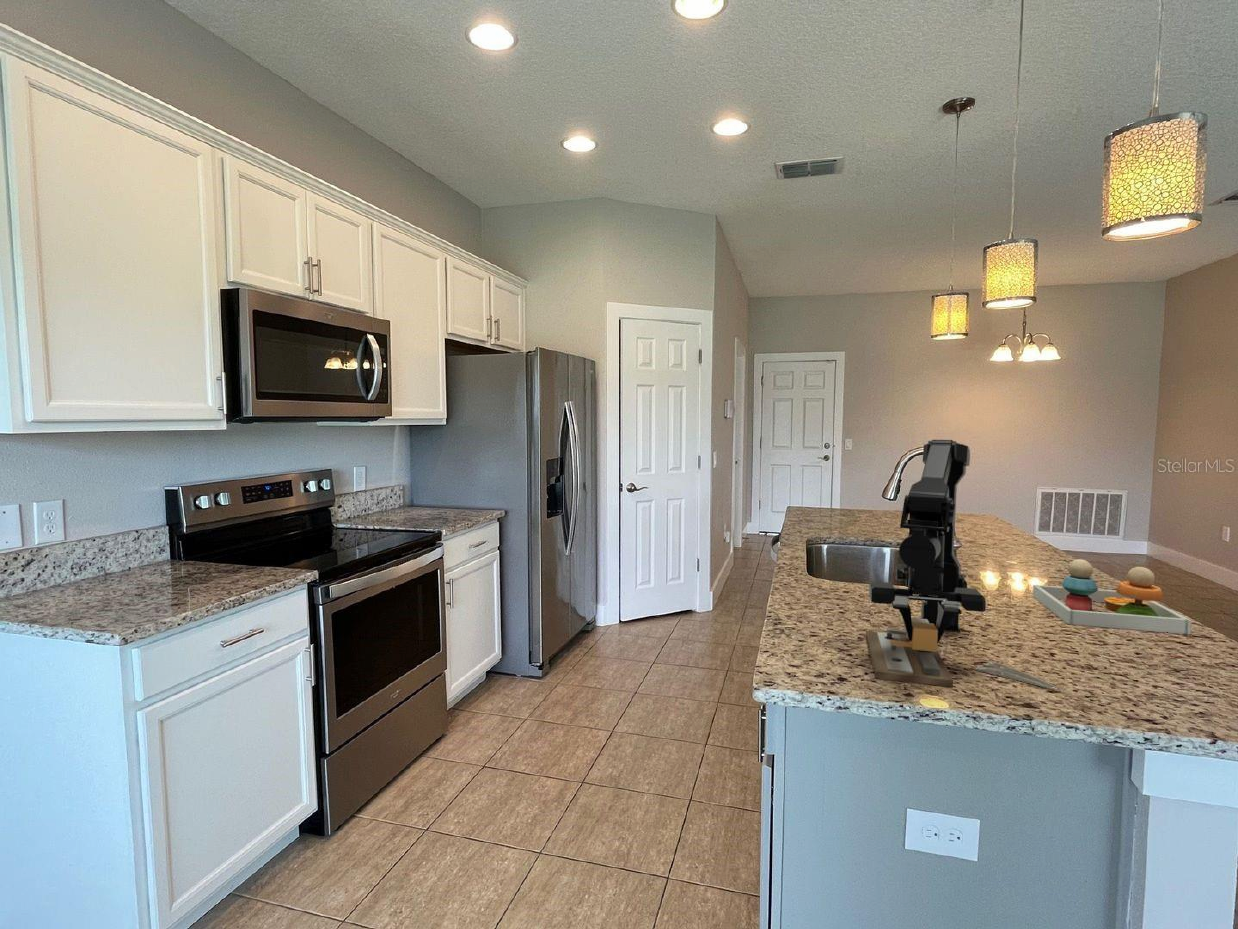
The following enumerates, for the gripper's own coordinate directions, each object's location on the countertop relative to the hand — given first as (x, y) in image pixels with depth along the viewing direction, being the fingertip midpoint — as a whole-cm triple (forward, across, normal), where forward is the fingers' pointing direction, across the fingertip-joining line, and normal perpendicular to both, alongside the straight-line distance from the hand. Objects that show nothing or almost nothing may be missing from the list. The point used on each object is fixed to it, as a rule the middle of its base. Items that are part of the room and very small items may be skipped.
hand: (923, 641), depth 115 cm
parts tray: (+4, -45, -45) cm, 64 cm away
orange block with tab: (+2, +2, 0) cm, 3 cm away
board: (+4, +3, 0) cm, 5 cm away
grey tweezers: (+4, -17, +5) cm, 18 cm away
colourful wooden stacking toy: (+4, -46, -46) cm, 66 cm away
